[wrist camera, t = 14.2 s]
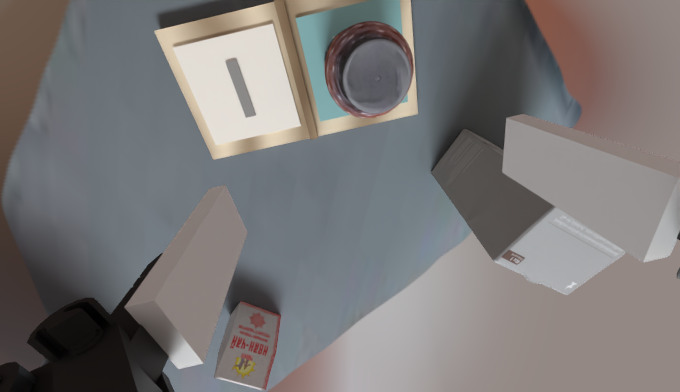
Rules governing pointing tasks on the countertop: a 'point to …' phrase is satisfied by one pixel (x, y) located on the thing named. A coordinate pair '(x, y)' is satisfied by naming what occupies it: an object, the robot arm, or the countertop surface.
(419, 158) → the countertop surface
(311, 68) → the teal pad
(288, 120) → the cream pad
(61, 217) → the countertop surface
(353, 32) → the supplement bottle
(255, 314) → the white product box
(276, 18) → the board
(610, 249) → the skincare box
